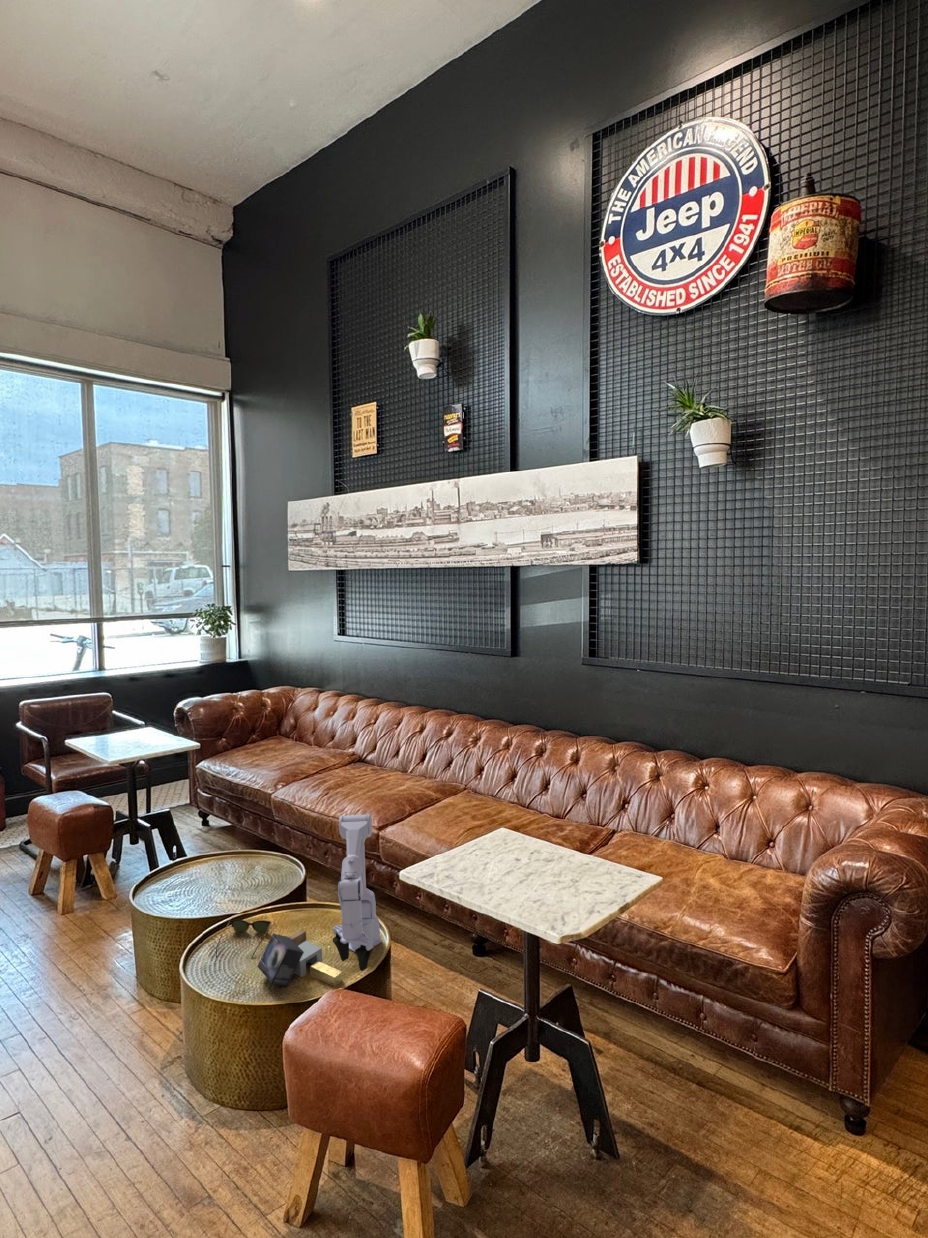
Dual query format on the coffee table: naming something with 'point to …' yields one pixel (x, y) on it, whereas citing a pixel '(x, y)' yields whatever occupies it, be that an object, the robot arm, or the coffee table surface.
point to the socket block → (308, 957)
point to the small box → (280, 959)
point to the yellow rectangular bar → (326, 973)
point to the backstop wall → (298, 937)
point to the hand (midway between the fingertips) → (354, 964)
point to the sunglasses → (243, 926)
